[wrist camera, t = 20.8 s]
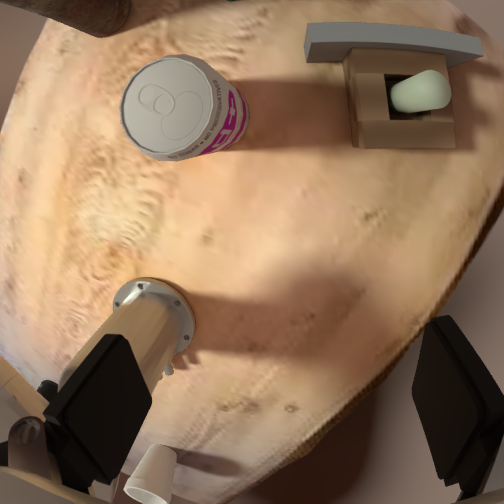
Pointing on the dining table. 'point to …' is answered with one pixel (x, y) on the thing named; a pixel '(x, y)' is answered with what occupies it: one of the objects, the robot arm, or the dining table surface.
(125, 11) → the candle
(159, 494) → the foam cup
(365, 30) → the wall
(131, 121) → the supplement can
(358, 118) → the block
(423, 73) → the dowel
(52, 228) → the dining table surface
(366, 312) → the dining table surface
